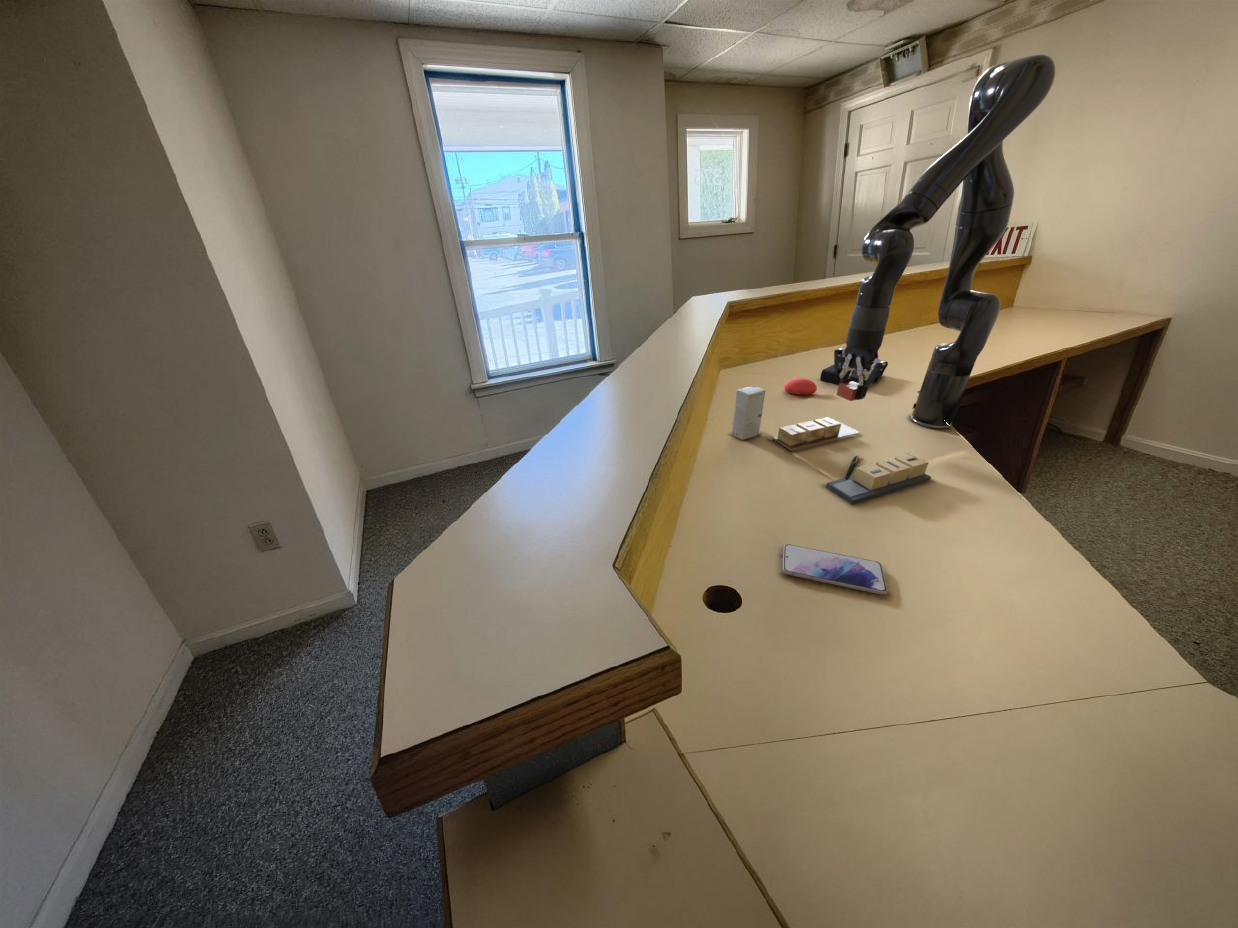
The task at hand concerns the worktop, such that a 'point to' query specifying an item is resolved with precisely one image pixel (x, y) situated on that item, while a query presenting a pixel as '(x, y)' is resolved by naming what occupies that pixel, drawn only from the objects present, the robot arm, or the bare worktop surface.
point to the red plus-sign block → (848, 390)
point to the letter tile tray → (812, 432)
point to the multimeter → (837, 375)
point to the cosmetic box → (748, 412)
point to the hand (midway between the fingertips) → (850, 395)
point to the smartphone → (834, 569)
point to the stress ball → (800, 386)
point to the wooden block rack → (881, 478)
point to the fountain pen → (852, 467)
